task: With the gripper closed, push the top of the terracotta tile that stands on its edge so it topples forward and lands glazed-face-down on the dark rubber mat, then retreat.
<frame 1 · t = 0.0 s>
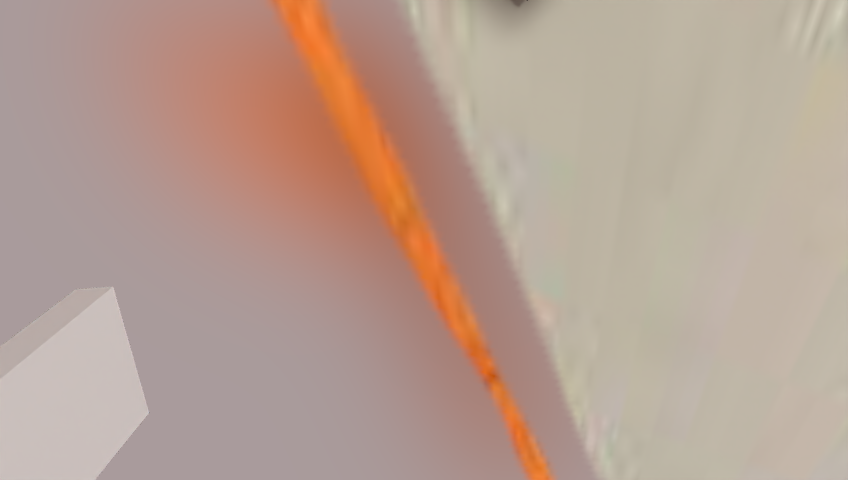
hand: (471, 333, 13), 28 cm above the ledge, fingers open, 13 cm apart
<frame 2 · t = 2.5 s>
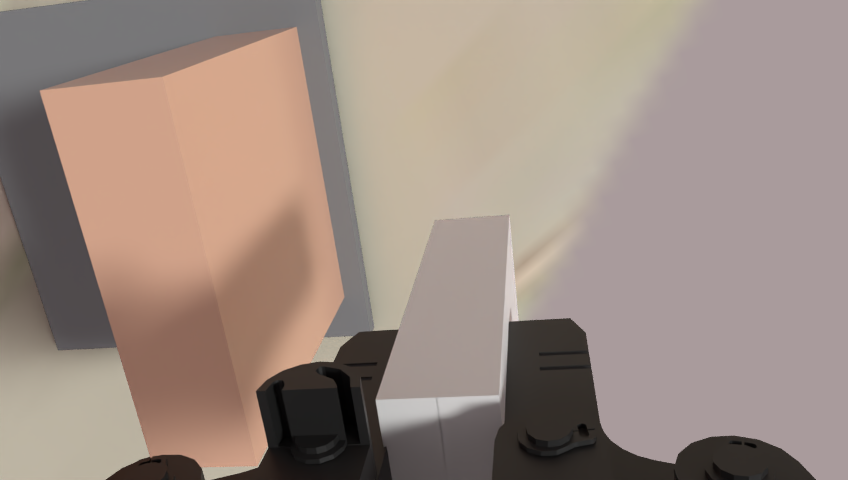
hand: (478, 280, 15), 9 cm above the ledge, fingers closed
mat: (176, 178, 26), on the ledge
tile: (283, 174, 24), point 1 cm above the ledge, touching mat
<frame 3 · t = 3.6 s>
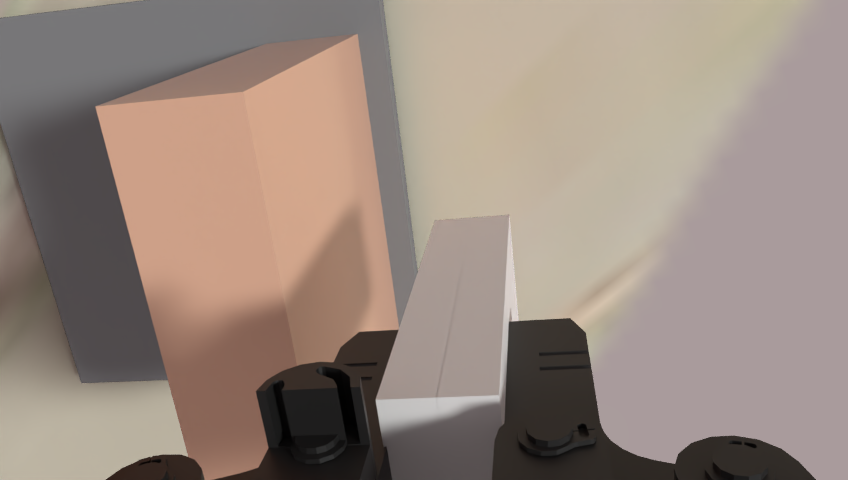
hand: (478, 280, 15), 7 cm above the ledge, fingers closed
mat: (216, 198, 23), on the ledge
tile: (336, 195, 22), point 1 cm above the ledge, touching mat
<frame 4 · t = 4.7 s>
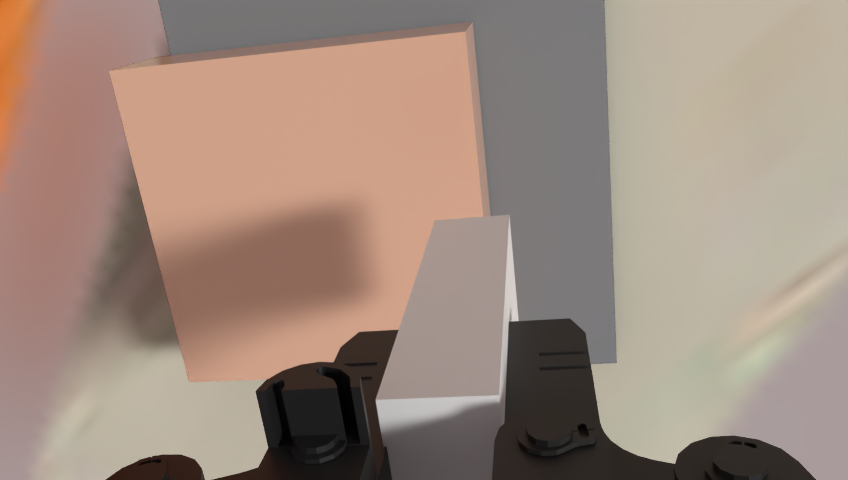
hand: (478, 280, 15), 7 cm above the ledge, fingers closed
mat: (402, 184, 23), on the ledge
tile: (485, 198, 20), point 2 cm above the ledge, tilted 90°, touching mat
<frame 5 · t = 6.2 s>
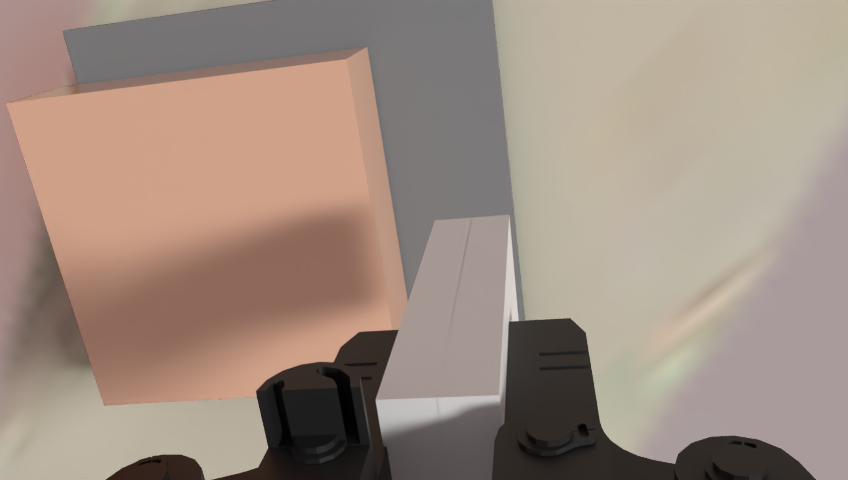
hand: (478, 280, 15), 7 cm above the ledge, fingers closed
mat: (312, 206, 23), on the ledge
tile: (384, 220, 21), point 2 cm above the ledge, tilted 90°, touching mat
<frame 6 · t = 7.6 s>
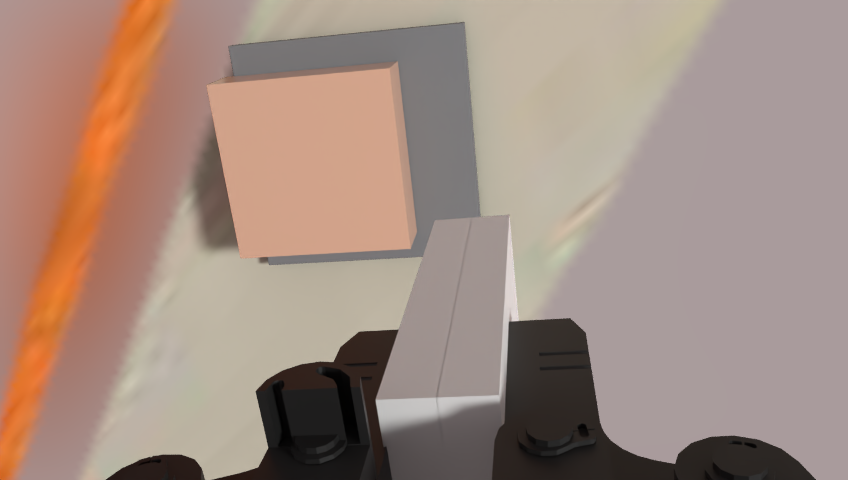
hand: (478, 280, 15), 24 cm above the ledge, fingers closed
mat: (361, 150, 40), on the ledge
tile: (404, 155, 38), point 2 cm above the ledge, tilted 90°, touching mat
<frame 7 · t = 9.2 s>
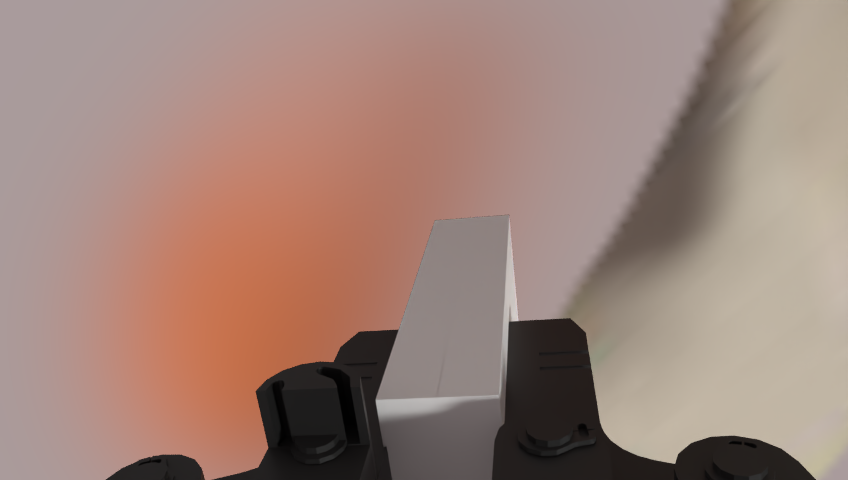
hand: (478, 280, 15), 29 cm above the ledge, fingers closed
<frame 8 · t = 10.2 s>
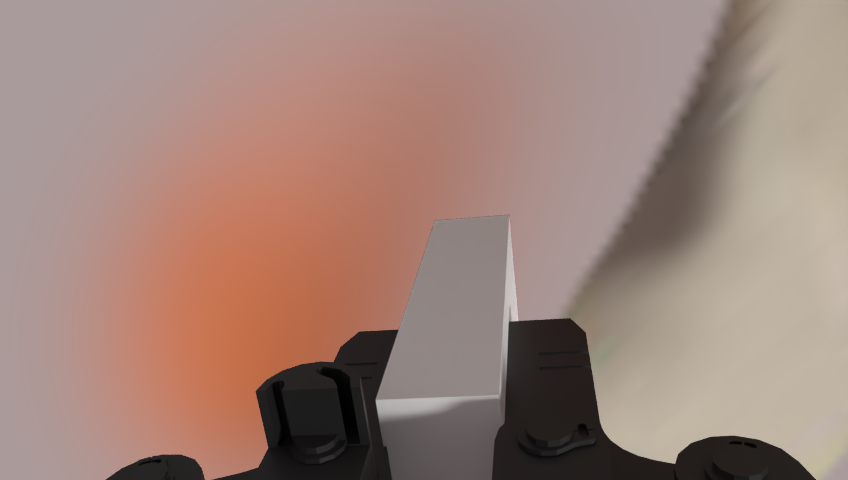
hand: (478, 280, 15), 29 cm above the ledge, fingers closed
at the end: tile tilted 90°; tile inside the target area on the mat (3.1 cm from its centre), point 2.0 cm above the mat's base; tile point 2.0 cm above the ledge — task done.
